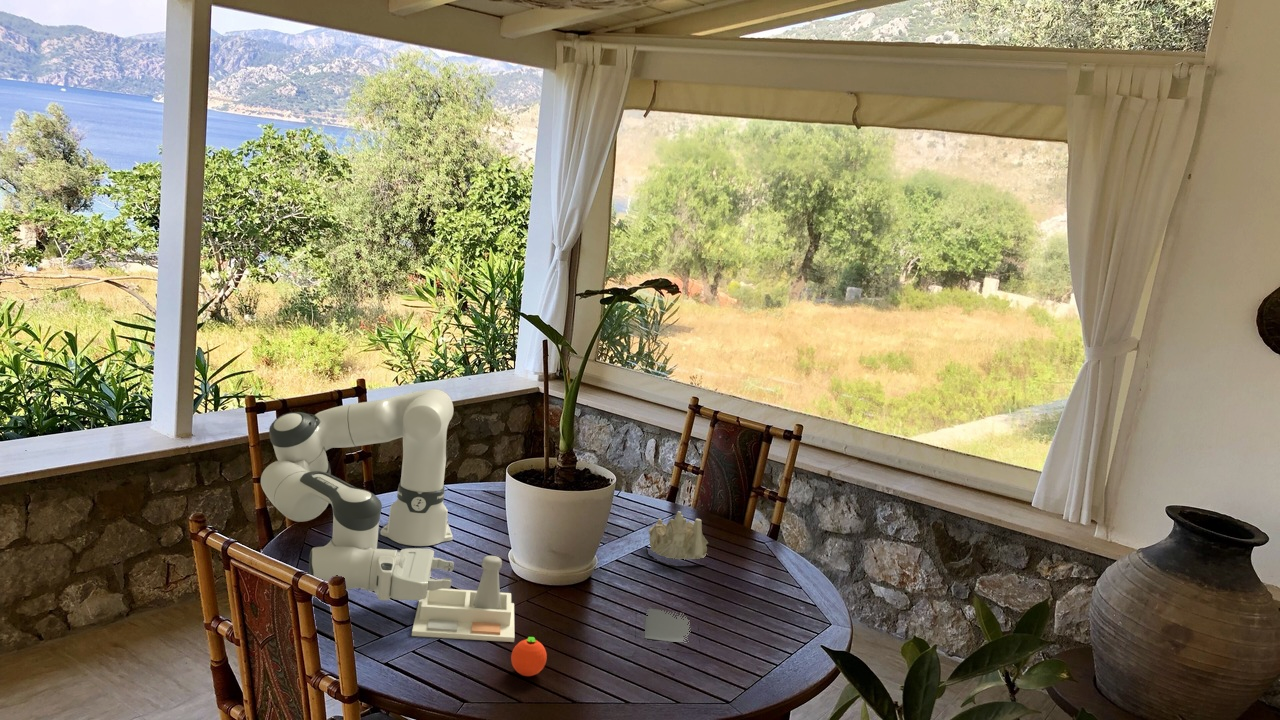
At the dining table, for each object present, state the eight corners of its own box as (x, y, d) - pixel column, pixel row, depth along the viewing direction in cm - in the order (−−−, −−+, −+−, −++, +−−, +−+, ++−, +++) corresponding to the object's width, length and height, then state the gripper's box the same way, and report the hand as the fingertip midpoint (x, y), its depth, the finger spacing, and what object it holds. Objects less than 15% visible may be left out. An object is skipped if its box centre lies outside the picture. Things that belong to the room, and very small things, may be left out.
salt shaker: (491, 622, 196) (498, 565, 194) (467, 615, 198) (474, 558, 196) (503, 612, 202) (510, 556, 200) (480, 606, 204) (487, 550, 202)
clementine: (510, 661, 183) (514, 628, 182) (544, 664, 184) (549, 631, 182) (508, 681, 175) (512, 646, 174) (544, 684, 176) (548, 649, 175)
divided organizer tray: (419, 601, 204) (421, 584, 204) (513, 607, 208) (515, 590, 207) (411, 635, 188) (413, 617, 187) (513, 642, 191) (516, 624, 190)
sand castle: (713, 567, 250) (718, 513, 248) (656, 568, 245) (660, 513, 244) (694, 549, 265) (698, 498, 263) (640, 549, 260) (644, 498, 259)
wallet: (702, 650, 196) (632, 639, 197) (700, 658, 197) (631, 647, 197) (700, 611, 216) (637, 602, 217) (699, 619, 216) (636, 609, 217)
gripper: (391, 565, 206) (453, 570, 208) (379, 604, 186) (448, 608, 188) (393, 539, 205) (456, 543, 207) (381, 574, 185) (451, 579, 187)
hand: (452, 574), depth 197 cm, fingers open, 8 cm apart
